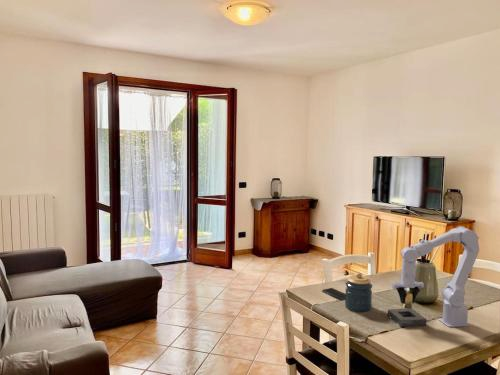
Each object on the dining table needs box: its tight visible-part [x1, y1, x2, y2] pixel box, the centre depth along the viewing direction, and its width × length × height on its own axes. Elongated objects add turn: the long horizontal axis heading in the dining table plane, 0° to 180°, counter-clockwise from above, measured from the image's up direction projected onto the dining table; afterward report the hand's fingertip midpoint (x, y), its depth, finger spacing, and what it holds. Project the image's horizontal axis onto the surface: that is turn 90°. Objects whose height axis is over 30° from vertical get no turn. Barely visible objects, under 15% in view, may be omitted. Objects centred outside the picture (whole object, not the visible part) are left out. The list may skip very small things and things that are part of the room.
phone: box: [321, 287, 346, 301], centre depth 206 cm, size 8×1×15 cm
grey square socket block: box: [387, 307, 427, 328], centre depth 174 cm, size 12×12×3 cm
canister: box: [344, 272, 373, 313], centre depth 188 cm, size 13×13×18 cm
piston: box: [402, 289, 413, 309], centre depth 172 cm, size 4×4×7 cm
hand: (407, 302), depth 173 cm, fingers closed on piston, 4 cm apart
